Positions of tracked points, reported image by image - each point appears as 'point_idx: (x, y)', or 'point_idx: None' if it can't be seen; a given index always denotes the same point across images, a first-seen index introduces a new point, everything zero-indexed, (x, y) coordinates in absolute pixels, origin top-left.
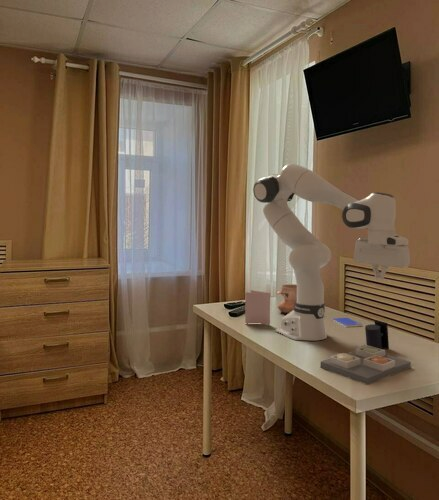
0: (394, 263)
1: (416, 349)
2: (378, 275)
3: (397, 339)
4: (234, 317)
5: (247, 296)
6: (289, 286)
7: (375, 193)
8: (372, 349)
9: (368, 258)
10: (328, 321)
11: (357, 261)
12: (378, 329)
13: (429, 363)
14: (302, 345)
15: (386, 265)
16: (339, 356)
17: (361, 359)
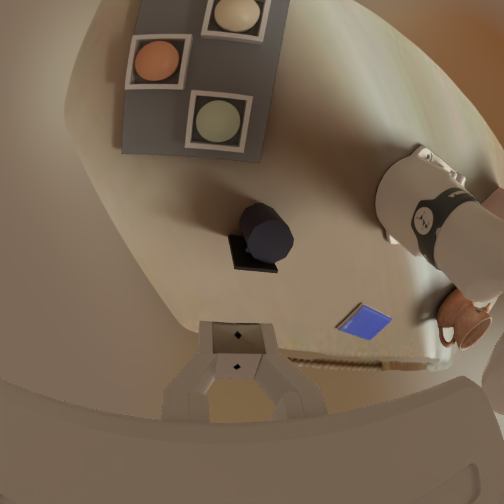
0: (19, 419)
1: (183, 275)
2: (239, 340)
3: (246, 306)
4: None
5: None
6: (477, 336)
7: None
8: (209, 119)
9: (386, 455)
10: (396, 306)
11: (456, 385)
12: (249, 236)
13: (116, 210)
14: (396, 119)
15: (120, 418)
16: (249, 3)
17: (217, 70)
